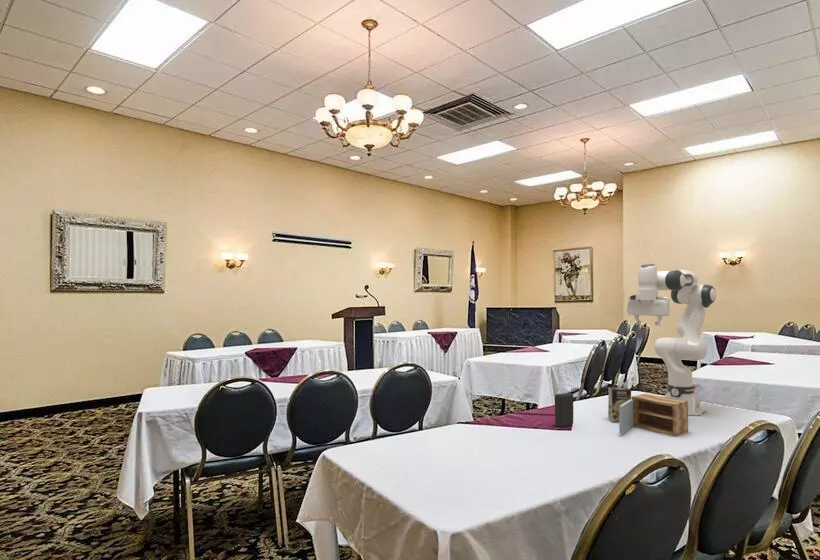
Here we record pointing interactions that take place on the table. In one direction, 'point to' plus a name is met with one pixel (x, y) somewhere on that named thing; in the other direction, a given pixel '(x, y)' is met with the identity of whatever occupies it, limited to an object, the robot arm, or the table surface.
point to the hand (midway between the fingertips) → (648, 324)
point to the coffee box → (617, 401)
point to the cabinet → (660, 414)
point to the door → (625, 416)
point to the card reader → (563, 409)
